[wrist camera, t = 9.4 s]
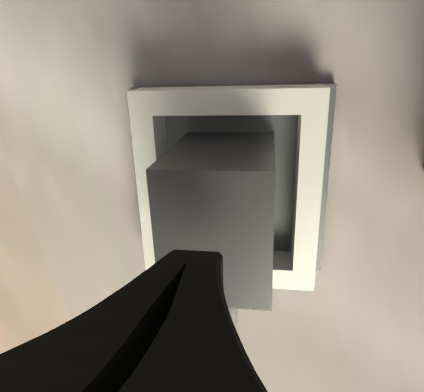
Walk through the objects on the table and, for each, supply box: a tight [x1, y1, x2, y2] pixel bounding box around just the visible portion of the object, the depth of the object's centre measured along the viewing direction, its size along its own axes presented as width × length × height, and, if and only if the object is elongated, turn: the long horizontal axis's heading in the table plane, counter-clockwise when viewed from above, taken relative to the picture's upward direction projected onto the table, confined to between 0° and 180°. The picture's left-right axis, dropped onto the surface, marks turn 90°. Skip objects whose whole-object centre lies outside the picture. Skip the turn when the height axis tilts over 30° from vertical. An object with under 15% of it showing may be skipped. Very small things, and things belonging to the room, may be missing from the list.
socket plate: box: [127, 83, 336, 291], centre depth 17 cm, size 9×9×2 cm
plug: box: [146, 132, 276, 327], centre depth 15 cm, size 4×7×6 cm, turn 2°
